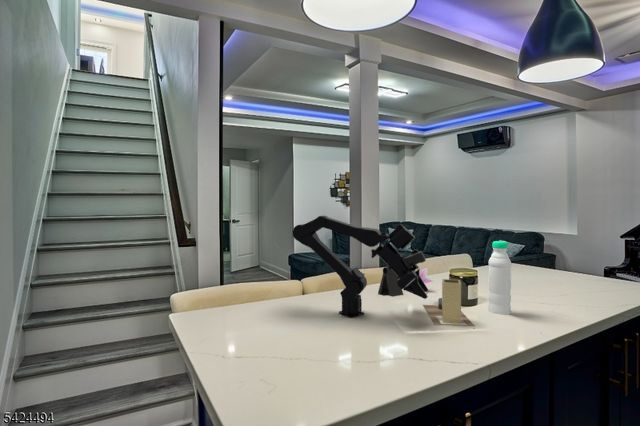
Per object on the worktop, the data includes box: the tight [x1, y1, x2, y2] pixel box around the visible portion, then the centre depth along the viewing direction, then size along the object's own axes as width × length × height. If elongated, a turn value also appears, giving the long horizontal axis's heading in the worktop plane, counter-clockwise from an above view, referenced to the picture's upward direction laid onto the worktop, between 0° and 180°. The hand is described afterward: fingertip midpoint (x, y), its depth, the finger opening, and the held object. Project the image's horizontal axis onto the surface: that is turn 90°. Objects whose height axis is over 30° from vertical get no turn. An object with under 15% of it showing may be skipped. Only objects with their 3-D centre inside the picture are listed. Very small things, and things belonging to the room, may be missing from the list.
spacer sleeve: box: [441, 278, 462, 324], centre depth 114 cm, size 5×5×12 cm
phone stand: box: [377, 266, 404, 298], centre depth 149 cm, size 9×6×12 cm, turn 32°
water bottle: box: [487, 240, 512, 315], centre depth 123 cm, size 7×7×25 cm
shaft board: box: [422, 297, 476, 330], centre depth 120 cm, size 22×12×4 cm, turn 174°
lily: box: [419, 267, 434, 294], centre depth 156 cm, size 12×12×10 cm
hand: (427, 294), depth 116 cm, fingers open, 9 cm apart
